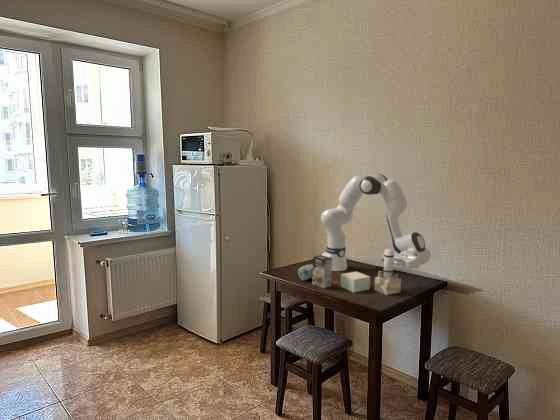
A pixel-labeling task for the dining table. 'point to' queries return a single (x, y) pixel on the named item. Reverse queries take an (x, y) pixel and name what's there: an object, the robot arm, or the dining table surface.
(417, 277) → the dining table surface
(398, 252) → the robot arm
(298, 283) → the dining table surface
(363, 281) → the beige box
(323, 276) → the coffee box
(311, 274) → the spool
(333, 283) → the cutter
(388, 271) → the white thermos bottle
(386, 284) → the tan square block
